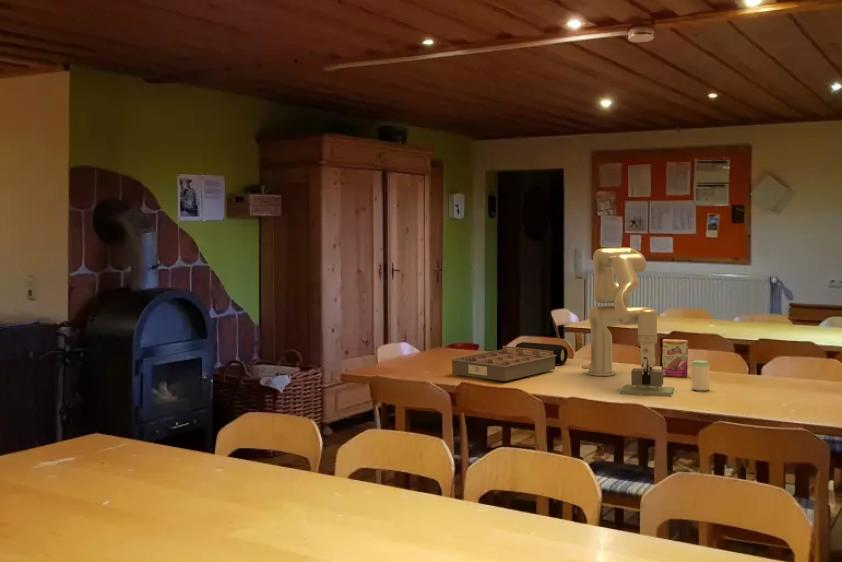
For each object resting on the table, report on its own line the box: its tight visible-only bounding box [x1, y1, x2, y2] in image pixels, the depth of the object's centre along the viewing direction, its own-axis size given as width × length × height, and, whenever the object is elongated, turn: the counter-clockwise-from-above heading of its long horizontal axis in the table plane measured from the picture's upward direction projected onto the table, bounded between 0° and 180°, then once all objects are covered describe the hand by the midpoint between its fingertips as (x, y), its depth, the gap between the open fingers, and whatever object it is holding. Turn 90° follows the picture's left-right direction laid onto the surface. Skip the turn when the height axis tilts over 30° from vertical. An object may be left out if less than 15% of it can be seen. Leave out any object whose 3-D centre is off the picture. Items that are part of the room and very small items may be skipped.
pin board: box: [619, 384, 675, 397], centre depth 350 cm, size 20×12×5 cm, turn 68°
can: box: [691, 359, 711, 392], centre depth 353 cm, size 7×7×12 cm
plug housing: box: [630, 367, 664, 387], centre depth 350 cm, size 12×6×6 cm, turn 68°
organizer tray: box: [450, 345, 557, 382], centre depth 398 cm, size 32×40×10 cm
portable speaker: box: [515, 341, 569, 365], centre depth 426 cm, size 26×10×10 cm, turn 55°
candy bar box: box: [661, 338, 689, 378], centre depth 384 cm, size 11×5×16 cm, turn 71°
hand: (647, 382), depth 350 cm, fingers closed on plug housing, 6 cm apart
